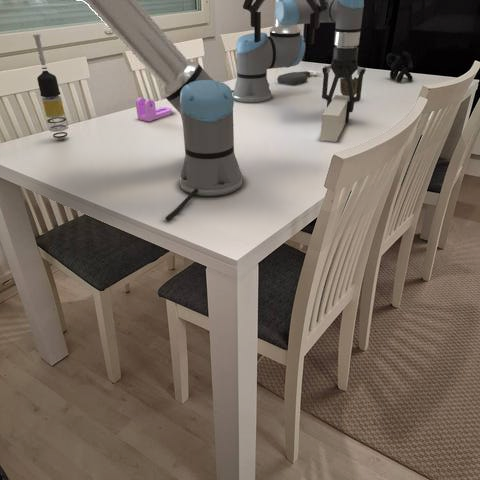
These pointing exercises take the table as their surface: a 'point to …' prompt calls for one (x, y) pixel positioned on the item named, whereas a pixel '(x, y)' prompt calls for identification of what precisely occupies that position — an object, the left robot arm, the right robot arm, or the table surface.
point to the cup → (345, 86)
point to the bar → (334, 118)
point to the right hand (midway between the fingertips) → (338, 120)
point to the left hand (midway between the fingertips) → (283, 42)
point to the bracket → (150, 110)
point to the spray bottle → (295, 77)
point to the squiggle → (399, 66)
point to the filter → (50, 95)
